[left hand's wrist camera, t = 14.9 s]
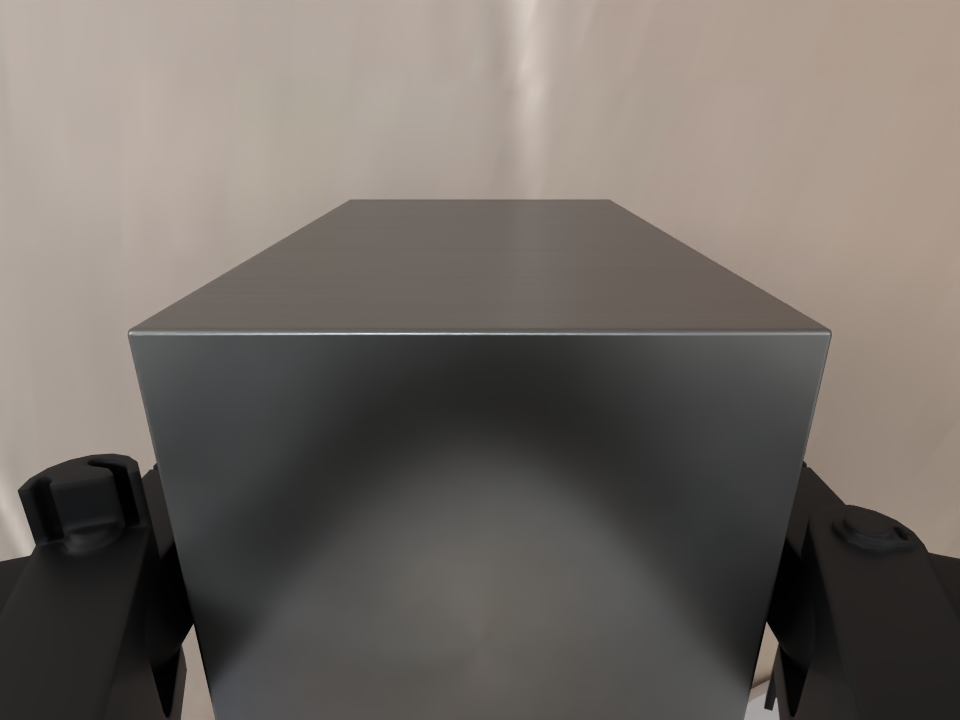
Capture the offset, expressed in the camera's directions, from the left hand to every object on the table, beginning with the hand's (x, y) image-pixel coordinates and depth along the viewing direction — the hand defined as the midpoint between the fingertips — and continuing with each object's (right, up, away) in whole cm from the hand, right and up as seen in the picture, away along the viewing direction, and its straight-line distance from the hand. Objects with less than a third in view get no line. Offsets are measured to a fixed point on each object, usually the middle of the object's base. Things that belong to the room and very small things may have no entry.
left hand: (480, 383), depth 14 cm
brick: (0, +1, +2) cm, 2 cm away
